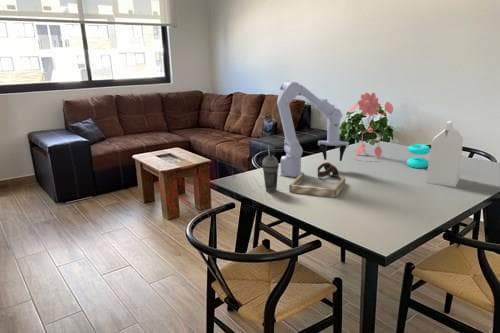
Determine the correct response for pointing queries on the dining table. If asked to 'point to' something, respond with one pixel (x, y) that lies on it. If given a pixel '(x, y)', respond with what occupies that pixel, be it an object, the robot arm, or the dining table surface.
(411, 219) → the dining table surface
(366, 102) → the pink flower ornament
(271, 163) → the beverage cup
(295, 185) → the wooden tray
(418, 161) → the donuts
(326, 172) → the brown piece
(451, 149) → the milk
